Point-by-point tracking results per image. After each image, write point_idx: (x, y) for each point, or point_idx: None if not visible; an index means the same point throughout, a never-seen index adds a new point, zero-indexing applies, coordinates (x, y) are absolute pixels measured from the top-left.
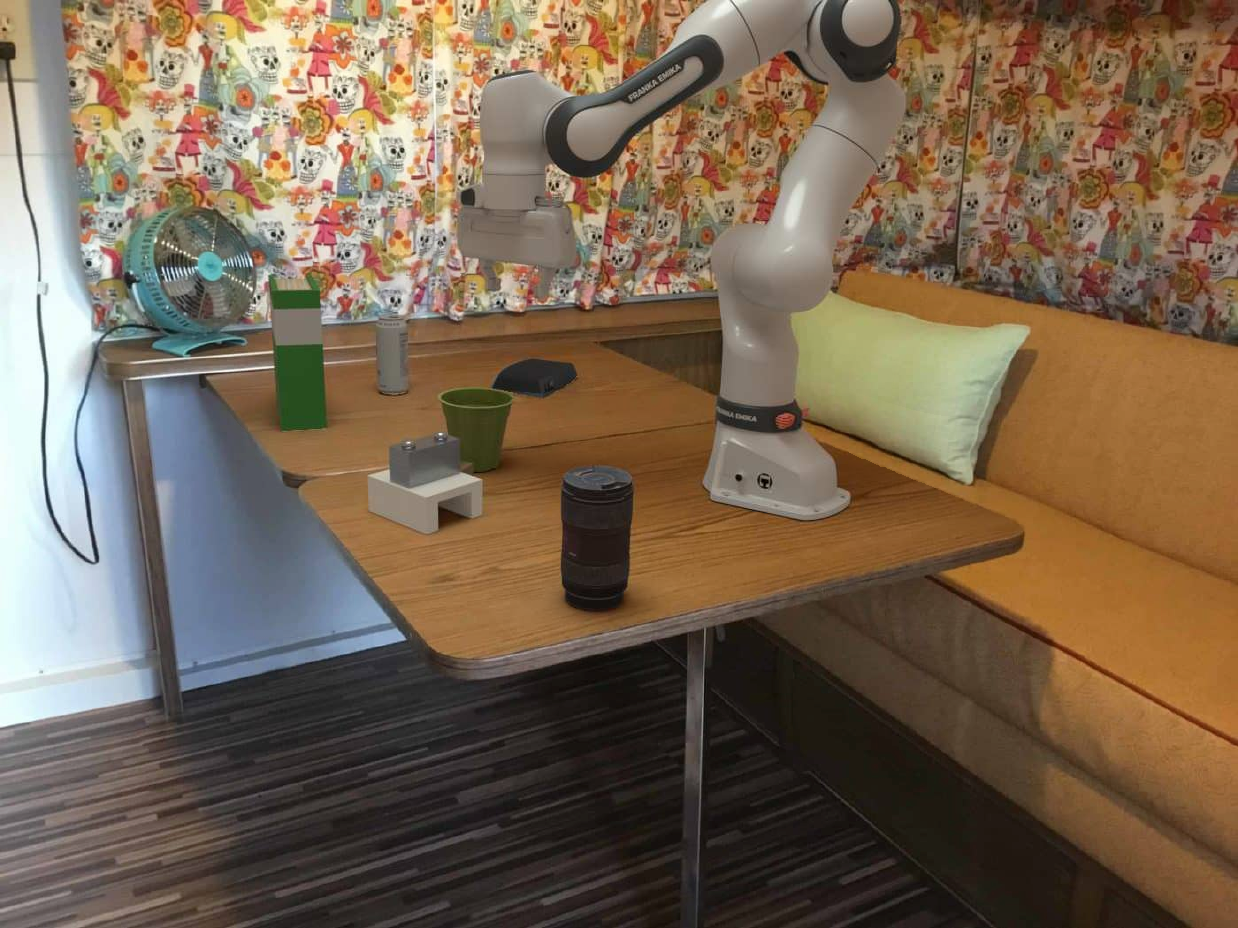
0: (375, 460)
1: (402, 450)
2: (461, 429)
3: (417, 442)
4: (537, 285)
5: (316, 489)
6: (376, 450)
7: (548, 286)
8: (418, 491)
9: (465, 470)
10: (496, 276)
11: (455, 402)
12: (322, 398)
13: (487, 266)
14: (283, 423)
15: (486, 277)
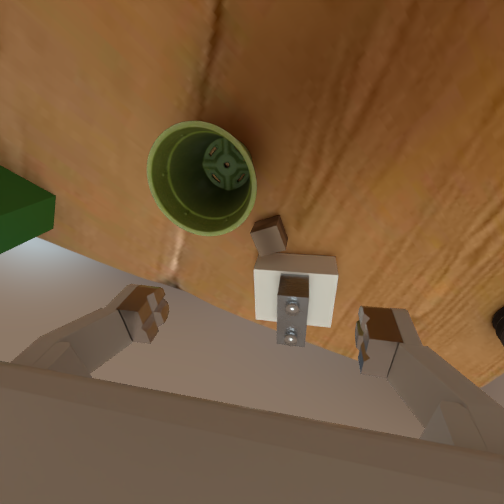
0: (160, 223)
1: (295, 345)
2: (227, 211)
3: (286, 326)
4: (390, 383)
5: (198, 292)
6: (134, 204)
7: (420, 345)
8: (315, 321)
9: (282, 240)
10: (113, 313)
11: (163, 177)
12: (25, 209)
13: (87, 373)
14: (46, 230)
15: (122, 346)
